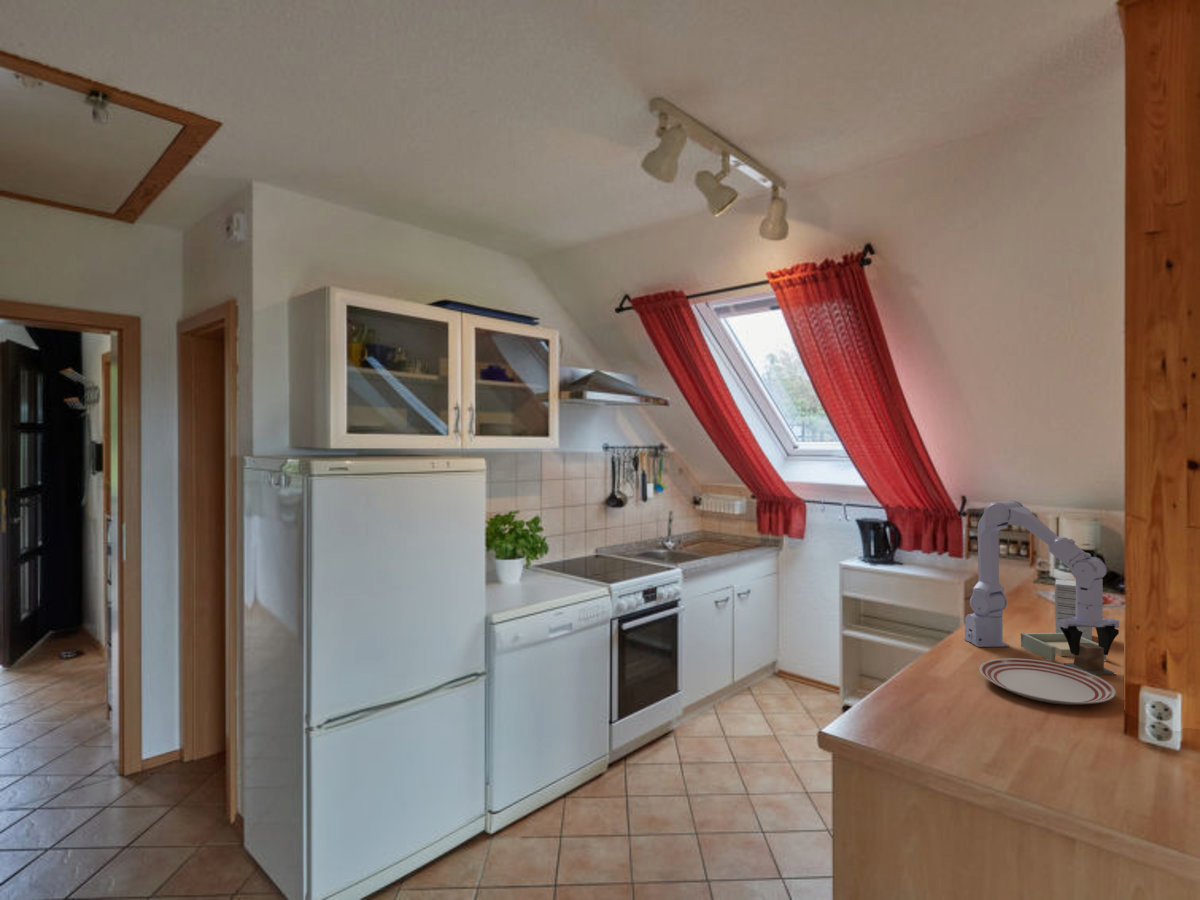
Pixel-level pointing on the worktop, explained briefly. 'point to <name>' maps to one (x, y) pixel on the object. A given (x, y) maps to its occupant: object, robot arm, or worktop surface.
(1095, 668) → the block
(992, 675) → the dinner plate
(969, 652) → the worktop surface
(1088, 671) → the mat
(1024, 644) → the crate
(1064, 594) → the supplement box
